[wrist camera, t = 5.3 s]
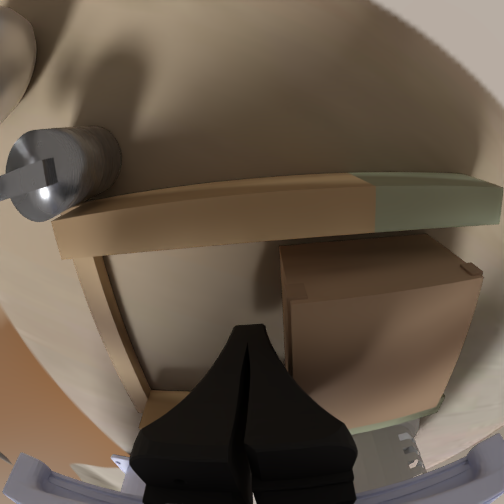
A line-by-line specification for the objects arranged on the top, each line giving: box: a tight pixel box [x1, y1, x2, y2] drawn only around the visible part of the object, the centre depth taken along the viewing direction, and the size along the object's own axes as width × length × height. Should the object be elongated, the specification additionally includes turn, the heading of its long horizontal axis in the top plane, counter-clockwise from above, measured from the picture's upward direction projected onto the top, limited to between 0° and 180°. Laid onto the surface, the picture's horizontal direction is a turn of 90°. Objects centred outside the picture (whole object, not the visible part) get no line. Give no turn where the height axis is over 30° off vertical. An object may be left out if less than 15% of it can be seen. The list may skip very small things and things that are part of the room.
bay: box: [51, 172, 503, 435], centre depth 12 cm, size 13×18×3 cm
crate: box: [279, 234, 484, 429], centre depth 12 cm, size 7×7×4 cm
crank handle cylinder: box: [0, 126, 121, 222], centre depth 8 cm, size 3×5×6 cm, turn 95°
